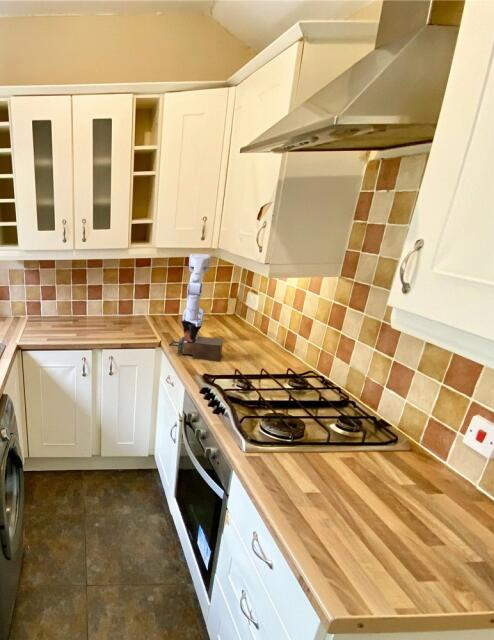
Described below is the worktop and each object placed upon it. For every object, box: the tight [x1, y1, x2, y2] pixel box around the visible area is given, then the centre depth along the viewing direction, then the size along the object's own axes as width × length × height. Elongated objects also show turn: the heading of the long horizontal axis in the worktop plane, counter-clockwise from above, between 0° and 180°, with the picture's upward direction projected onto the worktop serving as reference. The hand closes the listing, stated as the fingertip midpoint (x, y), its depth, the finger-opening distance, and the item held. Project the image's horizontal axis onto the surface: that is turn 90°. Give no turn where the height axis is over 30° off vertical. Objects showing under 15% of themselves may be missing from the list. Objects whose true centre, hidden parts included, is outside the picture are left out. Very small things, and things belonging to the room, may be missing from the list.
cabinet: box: [192, 336, 224, 362], centre depth 192 cm, size 12×11×8 cm
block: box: [183, 331, 194, 342], centre depth 193 cm, size 4×4×4 cm
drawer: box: [168, 336, 196, 356], centre depth 195 cm, size 15×9×6 cm, turn 66°
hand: (189, 337), depth 193 cm, fingers closed on block, 5 cm apart
